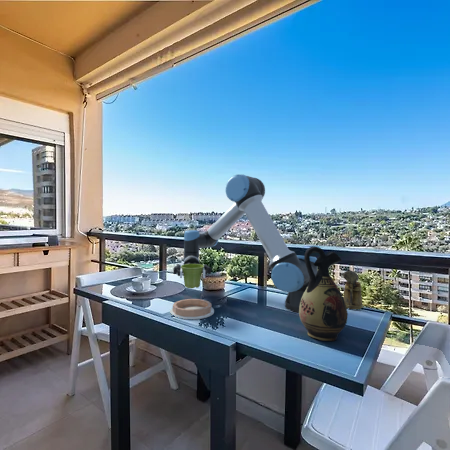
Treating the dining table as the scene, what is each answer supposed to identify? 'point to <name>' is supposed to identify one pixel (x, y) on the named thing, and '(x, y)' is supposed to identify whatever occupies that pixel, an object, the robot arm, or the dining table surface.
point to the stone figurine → (352, 291)
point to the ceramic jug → (322, 299)
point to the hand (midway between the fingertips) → (192, 274)
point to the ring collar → (192, 309)
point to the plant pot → (192, 275)
